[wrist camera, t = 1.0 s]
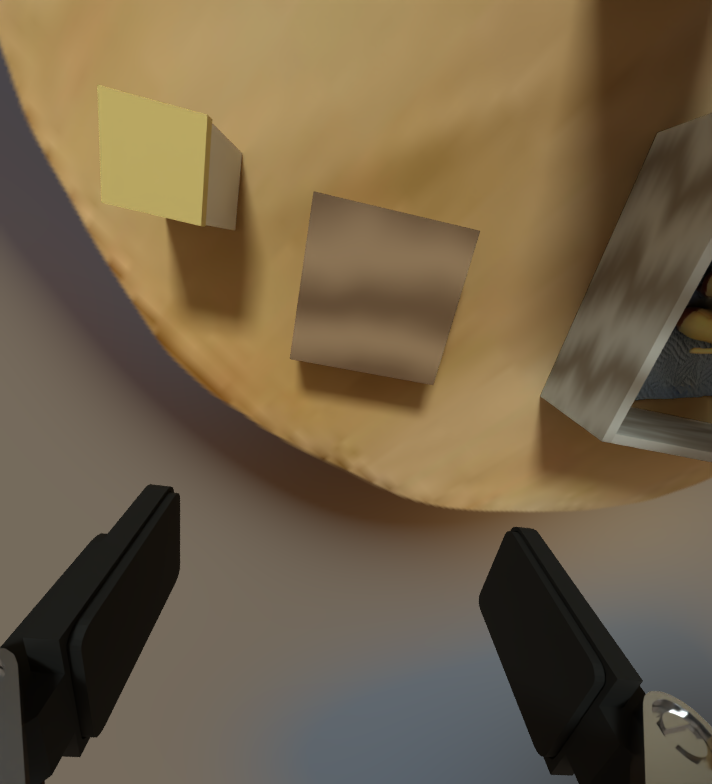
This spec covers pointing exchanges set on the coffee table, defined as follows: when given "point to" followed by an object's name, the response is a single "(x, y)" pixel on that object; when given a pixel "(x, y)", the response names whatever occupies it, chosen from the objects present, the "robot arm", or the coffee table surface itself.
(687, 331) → the stuffed giraffe
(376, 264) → the walnut box
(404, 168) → the coffee table surface
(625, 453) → the coffee table surface
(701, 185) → the grey crate
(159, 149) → the tea tin
